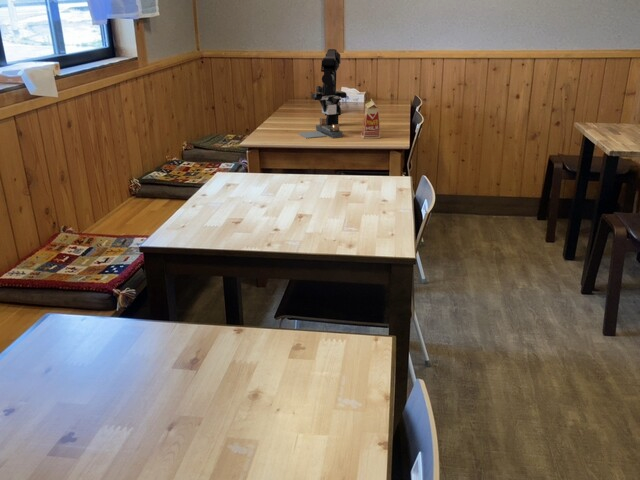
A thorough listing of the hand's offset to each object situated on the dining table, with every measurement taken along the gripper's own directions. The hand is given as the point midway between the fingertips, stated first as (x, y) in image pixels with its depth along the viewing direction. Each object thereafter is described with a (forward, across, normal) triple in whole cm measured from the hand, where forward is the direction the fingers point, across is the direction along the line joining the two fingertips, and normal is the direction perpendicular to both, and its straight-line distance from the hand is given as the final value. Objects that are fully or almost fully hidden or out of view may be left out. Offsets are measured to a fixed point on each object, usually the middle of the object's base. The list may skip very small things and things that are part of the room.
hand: (329, 111), depth 314 cm
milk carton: (+12, -17, +17) cm, 27 cm away
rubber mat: (+12, +10, 0) cm, 16 cm away
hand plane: (+12, 0, 0) cm, 12 cm away
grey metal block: (+1, 0, 0) cm, 1 cm away
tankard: (+12, -29, -59) cm, 67 cm away
